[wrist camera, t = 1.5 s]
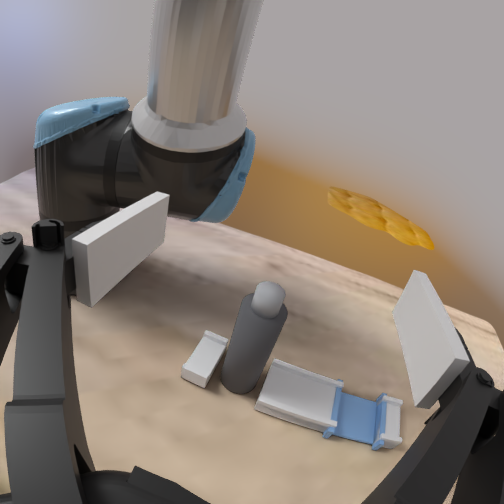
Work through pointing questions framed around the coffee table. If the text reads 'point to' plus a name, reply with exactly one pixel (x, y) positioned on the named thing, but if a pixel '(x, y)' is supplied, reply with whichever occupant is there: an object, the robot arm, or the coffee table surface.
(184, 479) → the coffee table surface
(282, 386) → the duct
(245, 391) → the cable plug
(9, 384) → the coffee table surface
